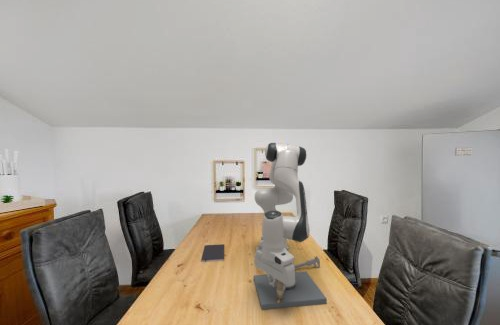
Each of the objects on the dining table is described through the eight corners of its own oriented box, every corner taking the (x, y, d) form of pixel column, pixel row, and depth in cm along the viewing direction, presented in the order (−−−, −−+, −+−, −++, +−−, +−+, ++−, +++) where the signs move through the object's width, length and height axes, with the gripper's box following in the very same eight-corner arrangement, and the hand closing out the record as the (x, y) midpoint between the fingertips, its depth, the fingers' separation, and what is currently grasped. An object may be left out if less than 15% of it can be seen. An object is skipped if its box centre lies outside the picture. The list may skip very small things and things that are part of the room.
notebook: (224, 261, 123) (224, 246, 144) (224, 258, 123) (224, 244, 144) (201, 262, 122) (204, 247, 143) (201, 260, 122) (204, 245, 143)
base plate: (253, 279, 103) (253, 274, 103) (306, 275, 107) (306, 271, 107) (261, 310, 82) (261, 304, 82) (326, 303, 86) (326, 298, 86)
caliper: (319, 267, 115) (318, 255, 115) (320, 268, 114) (319, 256, 114) (282, 271, 112) (282, 258, 112) (282, 272, 111) (282, 259, 111)
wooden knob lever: (279, 277, 101) (279, 262, 101) (296, 281, 98) (296, 265, 98) (269, 296, 87) (269, 279, 87) (289, 301, 84) (289, 283, 84)
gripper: (250, 246, 95) (251, 277, 95) (286, 263, 79) (286, 301, 79) (261, 242, 99) (261, 272, 99) (297, 258, 83) (297, 294, 83)
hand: (273, 285), depth 89 cm, fingers closed
